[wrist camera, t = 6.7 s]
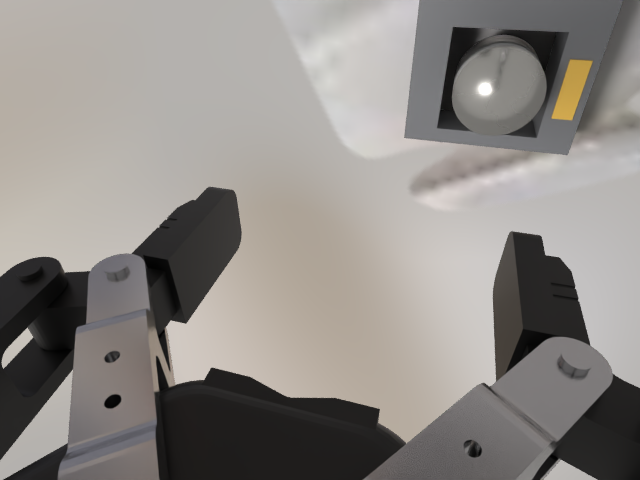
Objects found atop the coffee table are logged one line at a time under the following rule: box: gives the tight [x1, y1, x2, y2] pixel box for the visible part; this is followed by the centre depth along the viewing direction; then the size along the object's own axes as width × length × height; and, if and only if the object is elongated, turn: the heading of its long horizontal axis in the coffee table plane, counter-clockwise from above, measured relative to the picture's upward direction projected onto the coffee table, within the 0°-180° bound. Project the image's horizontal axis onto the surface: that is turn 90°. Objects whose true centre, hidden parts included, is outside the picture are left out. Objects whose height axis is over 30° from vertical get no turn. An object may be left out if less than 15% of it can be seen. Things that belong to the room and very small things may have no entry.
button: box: [452, 35, 547, 136], centre depth 23 cm, size 4×4×3 cm
